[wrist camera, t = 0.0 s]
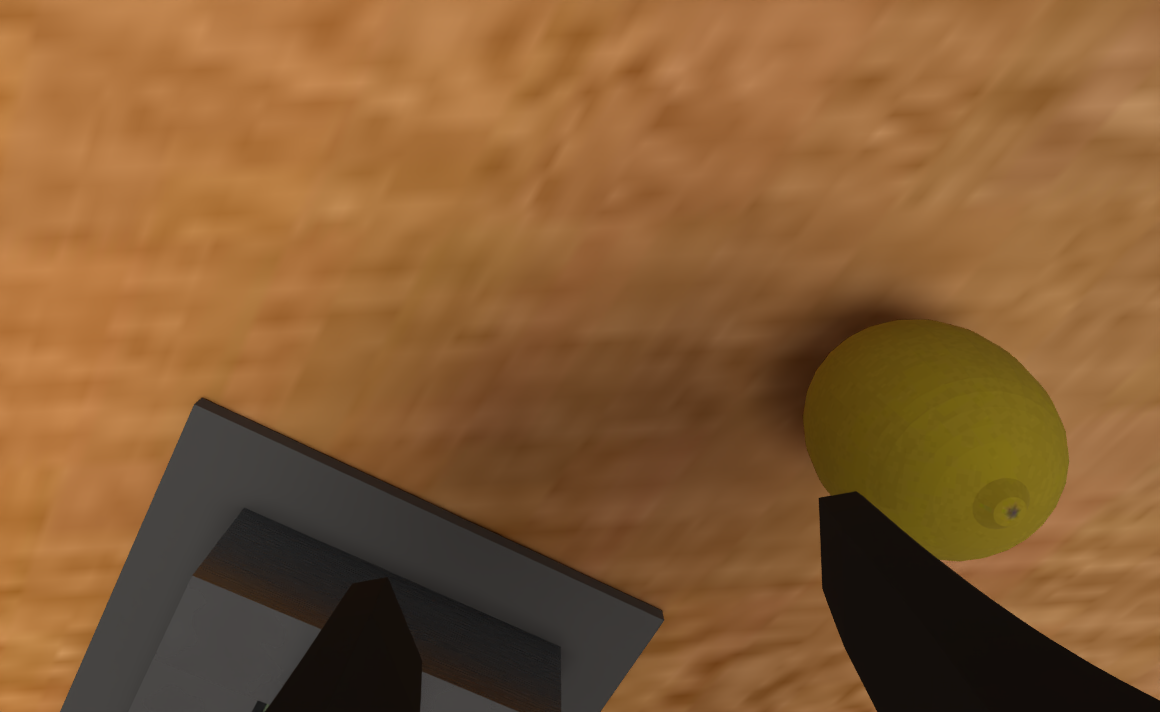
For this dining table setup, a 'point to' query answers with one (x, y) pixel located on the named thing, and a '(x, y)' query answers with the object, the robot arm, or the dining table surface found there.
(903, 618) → the robot arm
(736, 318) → the dining table surface
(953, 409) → the lemon
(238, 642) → the jack housing
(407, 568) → the base mat
